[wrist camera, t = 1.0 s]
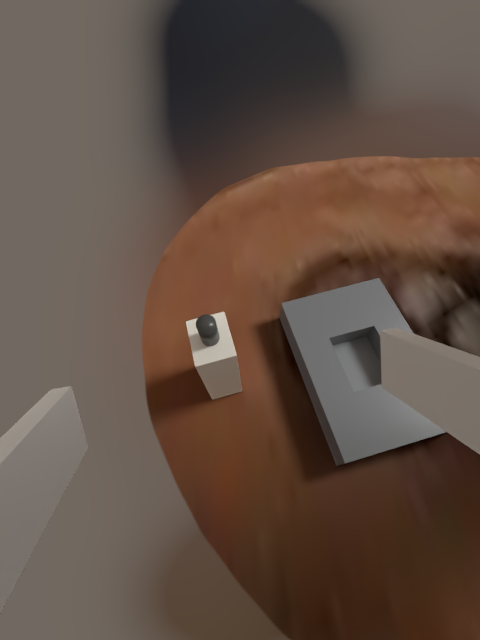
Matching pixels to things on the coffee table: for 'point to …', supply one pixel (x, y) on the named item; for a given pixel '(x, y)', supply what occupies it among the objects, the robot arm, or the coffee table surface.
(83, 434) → the robot arm
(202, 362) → the plug
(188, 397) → the coffee table surface
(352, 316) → the socket panel
